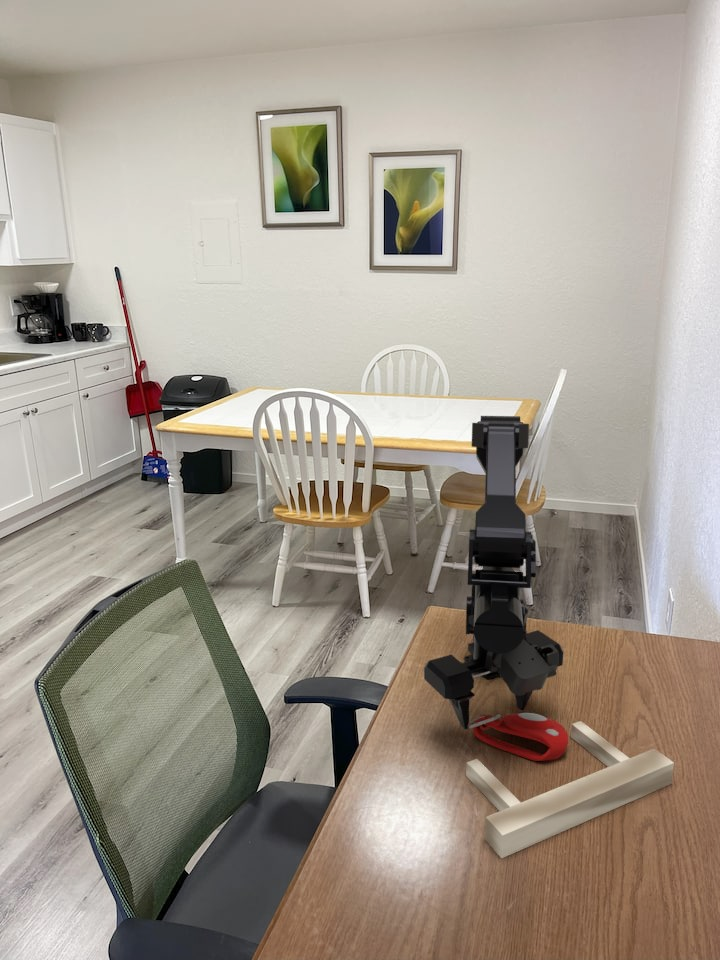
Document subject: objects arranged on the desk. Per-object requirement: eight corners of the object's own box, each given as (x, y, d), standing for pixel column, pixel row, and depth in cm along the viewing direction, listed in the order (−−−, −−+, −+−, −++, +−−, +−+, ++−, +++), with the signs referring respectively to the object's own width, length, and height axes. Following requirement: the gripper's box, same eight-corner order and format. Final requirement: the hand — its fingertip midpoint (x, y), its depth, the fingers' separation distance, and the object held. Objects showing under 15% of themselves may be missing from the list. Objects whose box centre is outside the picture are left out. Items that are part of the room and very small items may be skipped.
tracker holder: (536, 704, 103) (586, 726, 94) (534, 736, 103) (584, 761, 94) (463, 707, 98) (509, 731, 89) (460, 740, 98) (506, 768, 89)
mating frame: (438, 786, 89) (438, 765, 88) (596, 727, 99) (598, 708, 98) (501, 858, 78) (502, 835, 77) (671, 783, 88) (674, 762, 88)
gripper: (471, 660, 84) (468, 775, 89) (596, 624, 92) (587, 731, 97) (422, 619, 94) (421, 725, 99) (539, 590, 102) (533, 689, 106)
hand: (492, 718), depth 100 cm, fingers open, 9 cm apart
